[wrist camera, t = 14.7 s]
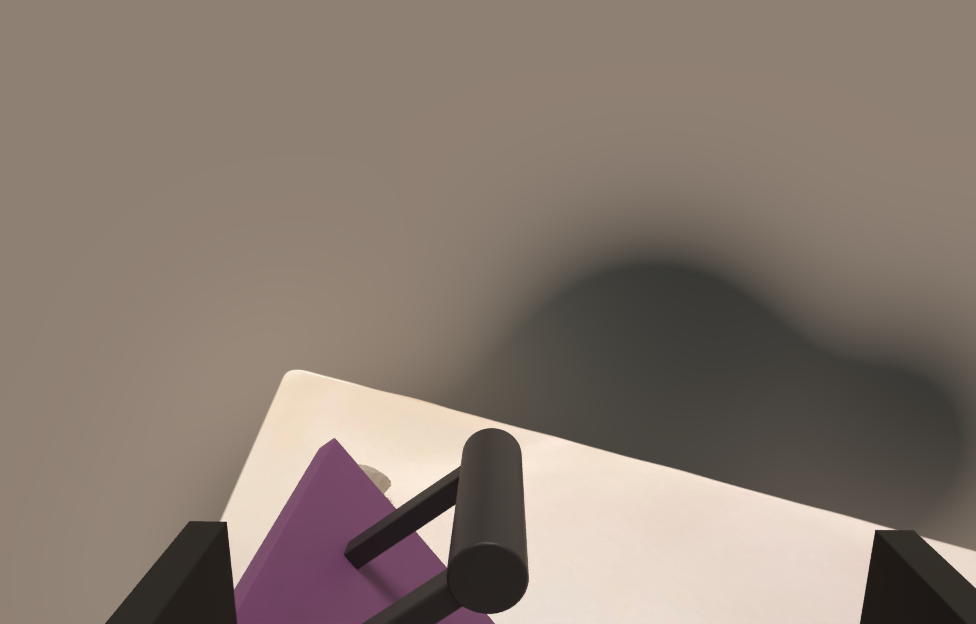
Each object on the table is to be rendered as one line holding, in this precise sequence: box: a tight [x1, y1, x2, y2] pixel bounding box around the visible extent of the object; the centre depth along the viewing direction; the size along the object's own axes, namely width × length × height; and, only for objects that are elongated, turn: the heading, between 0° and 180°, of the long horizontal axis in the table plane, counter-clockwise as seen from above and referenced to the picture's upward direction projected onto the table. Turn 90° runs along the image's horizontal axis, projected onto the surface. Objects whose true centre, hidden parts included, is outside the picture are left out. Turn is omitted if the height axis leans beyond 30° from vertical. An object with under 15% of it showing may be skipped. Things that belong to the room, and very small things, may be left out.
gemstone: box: [359, 465, 391, 494], centre depth 63 cm, size 6×6×5 cm
